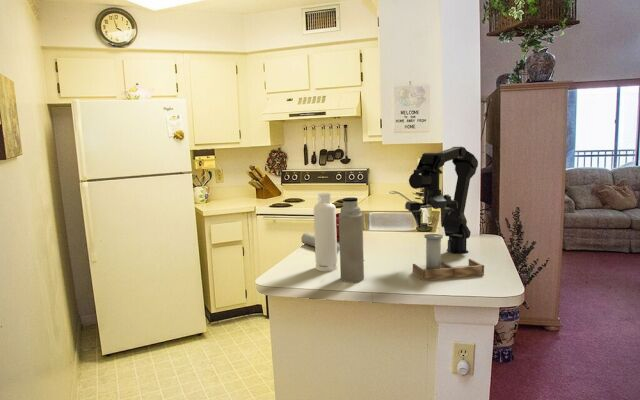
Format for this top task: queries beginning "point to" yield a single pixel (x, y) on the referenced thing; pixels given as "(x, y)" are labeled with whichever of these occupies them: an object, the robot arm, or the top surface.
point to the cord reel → (433, 251)
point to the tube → (312, 240)
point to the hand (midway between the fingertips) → (431, 227)
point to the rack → (449, 271)
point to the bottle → (325, 233)
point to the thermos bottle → (351, 241)
